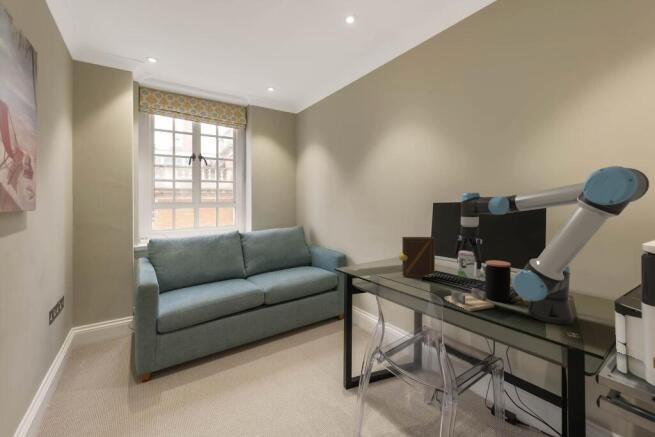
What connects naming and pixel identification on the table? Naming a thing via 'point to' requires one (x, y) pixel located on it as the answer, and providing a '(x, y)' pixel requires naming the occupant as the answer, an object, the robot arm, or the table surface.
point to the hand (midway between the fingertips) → (468, 272)
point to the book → (417, 256)
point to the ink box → (466, 264)
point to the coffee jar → (497, 280)
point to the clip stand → (470, 300)
